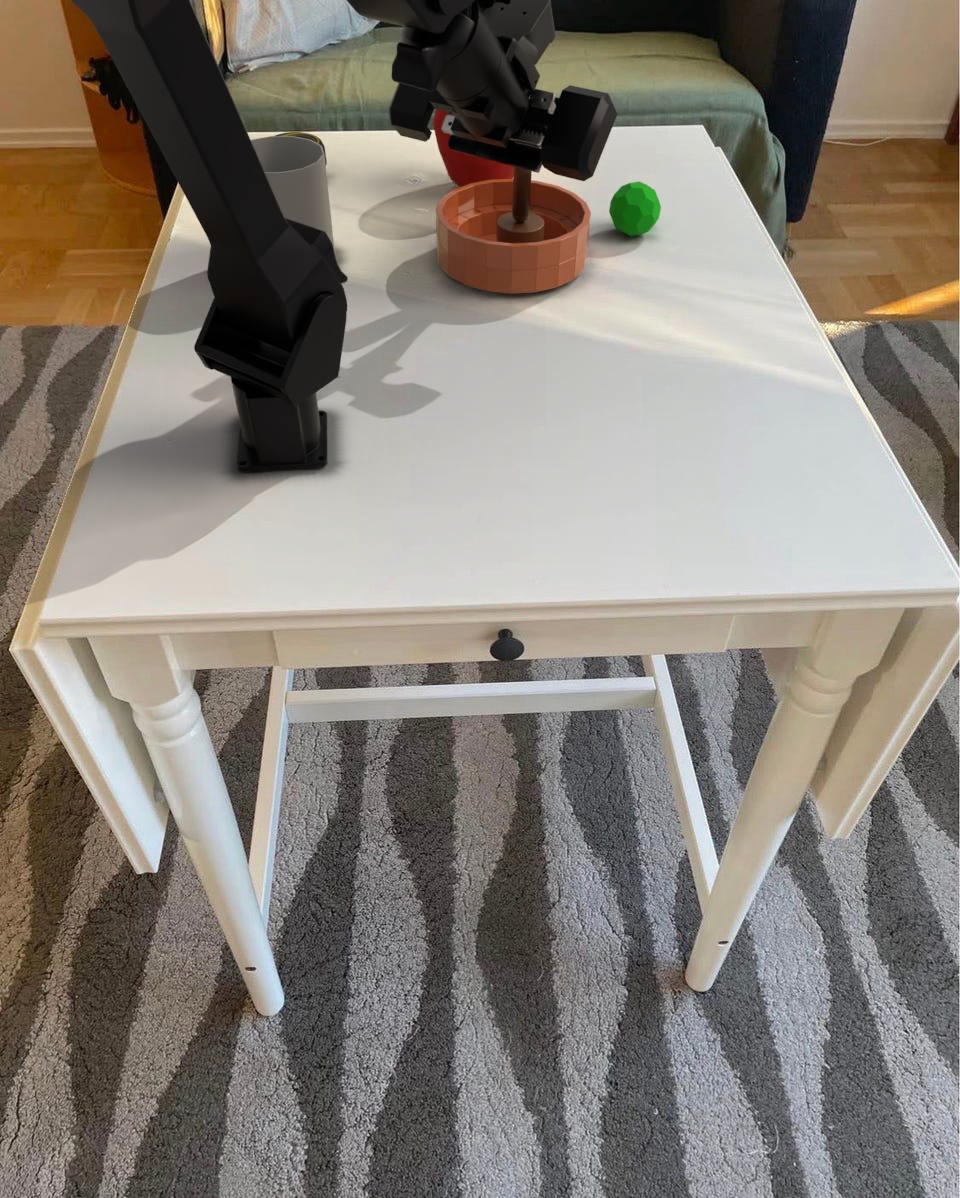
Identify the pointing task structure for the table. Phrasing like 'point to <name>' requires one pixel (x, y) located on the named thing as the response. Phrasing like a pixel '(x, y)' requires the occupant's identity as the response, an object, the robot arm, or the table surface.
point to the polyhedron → (635, 208)
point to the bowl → (511, 266)
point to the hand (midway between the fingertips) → (530, 164)
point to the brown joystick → (520, 214)
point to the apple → (466, 160)
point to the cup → (297, 179)
